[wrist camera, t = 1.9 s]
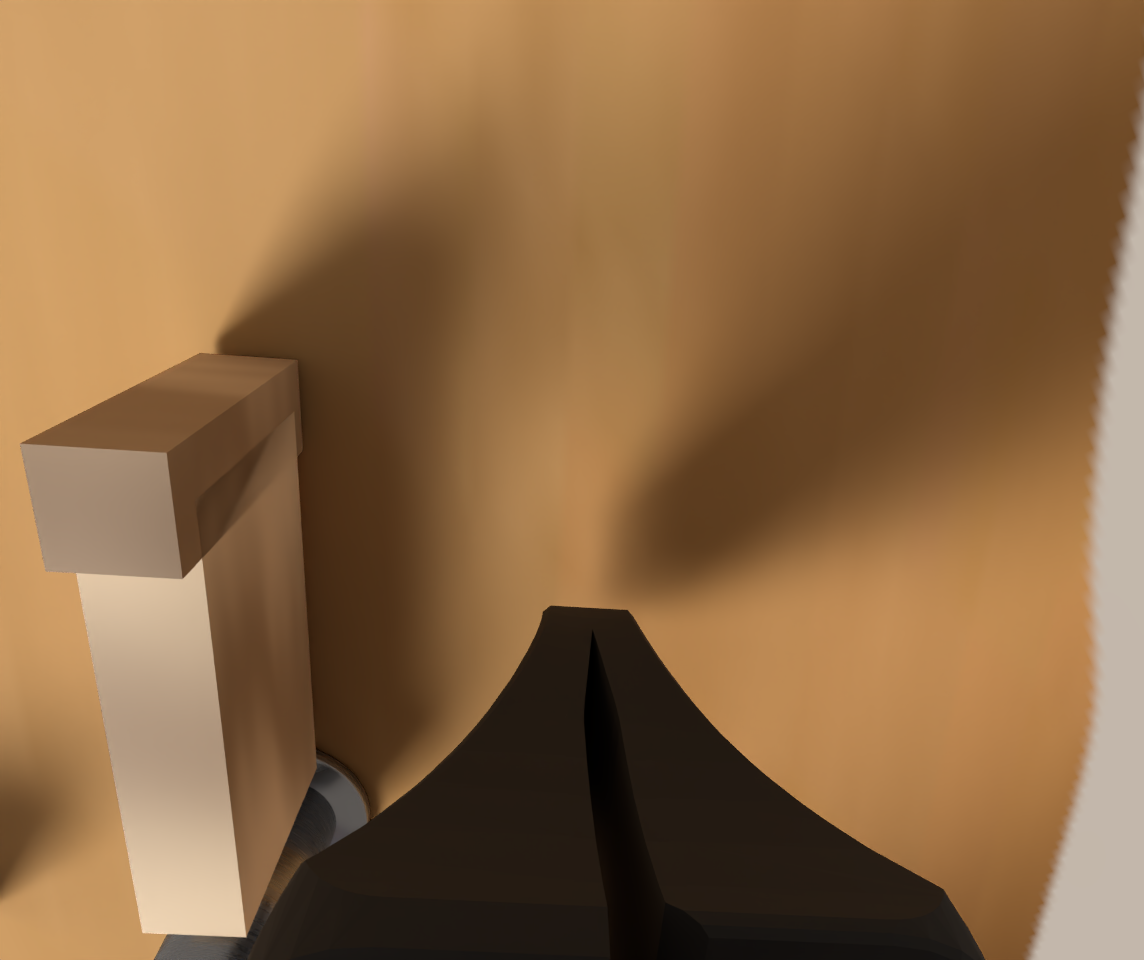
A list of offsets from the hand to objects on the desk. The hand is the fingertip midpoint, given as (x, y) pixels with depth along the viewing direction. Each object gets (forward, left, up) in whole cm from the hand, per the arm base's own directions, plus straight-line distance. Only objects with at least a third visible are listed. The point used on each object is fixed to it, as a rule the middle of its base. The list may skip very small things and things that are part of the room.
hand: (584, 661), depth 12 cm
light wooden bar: (0, +5, -2) cm, 6 cm away
